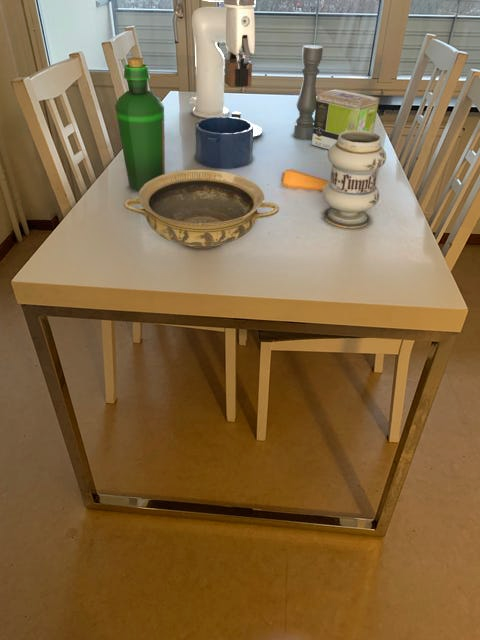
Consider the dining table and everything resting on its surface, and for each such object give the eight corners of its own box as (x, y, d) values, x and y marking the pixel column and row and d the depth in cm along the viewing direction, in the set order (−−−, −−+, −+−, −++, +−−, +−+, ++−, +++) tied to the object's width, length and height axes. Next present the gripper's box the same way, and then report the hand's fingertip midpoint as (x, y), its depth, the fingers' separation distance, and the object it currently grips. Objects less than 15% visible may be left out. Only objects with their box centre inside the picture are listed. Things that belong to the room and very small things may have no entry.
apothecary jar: (316, 205, 112) (327, 125, 101) (368, 207, 112) (384, 127, 101) (322, 229, 103) (334, 144, 92) (378, 231, 103) (397, 147, 92)
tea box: (370, 150, 144) (381, 97, 135) (352, 158, 138) (361, 103, 129) (329, 138, 152) (336, 87, 143) (310, 145, 146) (316, 92, 137)
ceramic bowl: (116, 268, 89) (108, 218, 83) (139, 211, 108) (134, 167, 101) (279, 273, 89) (283, 224, 83) (273, 215, 108) (277, 171, 102)
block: (224, 82, 126) (224, 59, 122) (244, 81, 127) (245, 58, 124) (230, 87, 122) (230, 63, 118) (251, 86, 123) (252, 62, 120)
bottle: (176, 182, 121) (169, 57, 104) (157, 198, 113) (146, 66, 96) (138, 175, 123) (125, 52, 106) (116, 191, 116) (99, 61, 98)
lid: (201, 138, 148) (201, 117, 145) (219, 123, 161) (219, 103, 157) (254, 144, 145) (255, 123, 141) (267, 129, 158) (268, 109, 154)
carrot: (279, 190, 121) (281, 176, 117) (282, 177, 123) (284, 163, 119) (358, 205, 119) (363, 192, 115) (360, 192, 121) (365, 179, 117)
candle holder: (313, 133, 155) (323, 45, 140) (313, 139, 150) (324, 49, 135) (293, 132, 155) (302, 44, 140) (293, 138, 150) (302, 47, 135)
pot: (184, 167, 129) (182, 132, 123) (210, 143, 145) (209, 111, 139) (240, 175, 126) (241, 140, 120) (260, 149, 142) (261, 117, 136)
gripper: (267, 3, 108) (262, 90, 119) (243, -5, 120) (241, 75, 132) (235, 3, 106) (233, 92, 117) (214, -5, 118) (214, 76, 130)
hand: (237, 82), depth 124 cm, fingers closed on block, 5 cm apart
